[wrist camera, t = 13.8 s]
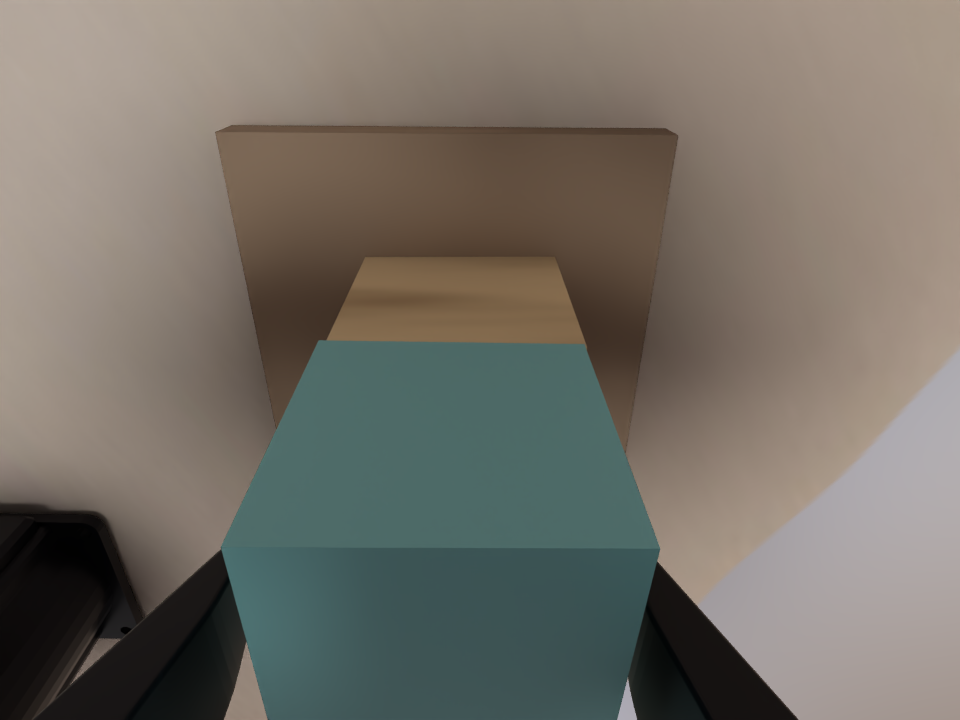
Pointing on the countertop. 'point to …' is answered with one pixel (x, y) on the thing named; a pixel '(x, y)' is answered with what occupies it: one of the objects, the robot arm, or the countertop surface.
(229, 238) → the countertop surface
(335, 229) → the walnut board
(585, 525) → the teal block
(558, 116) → the countertop surface
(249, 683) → the countertop surface
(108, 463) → the countertop surface
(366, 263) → the oak block
